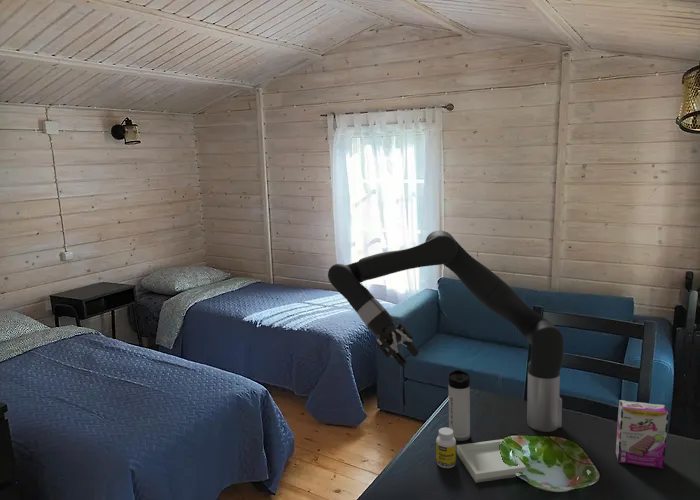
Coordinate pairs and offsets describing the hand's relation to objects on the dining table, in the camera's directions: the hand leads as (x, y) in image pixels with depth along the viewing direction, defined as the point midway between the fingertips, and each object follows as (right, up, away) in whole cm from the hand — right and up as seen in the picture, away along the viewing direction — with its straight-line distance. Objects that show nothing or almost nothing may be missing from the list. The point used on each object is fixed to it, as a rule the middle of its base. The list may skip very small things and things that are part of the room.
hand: (411, 359), depth 151 cm
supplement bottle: (+9, -28, -7) cm, 30 cm away
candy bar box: (+61, -26, -10) cm, 67 cm away
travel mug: (+16, -25, +7) cm, 30 cm away
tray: (+21, -27, -8) cm, 35 cm away
